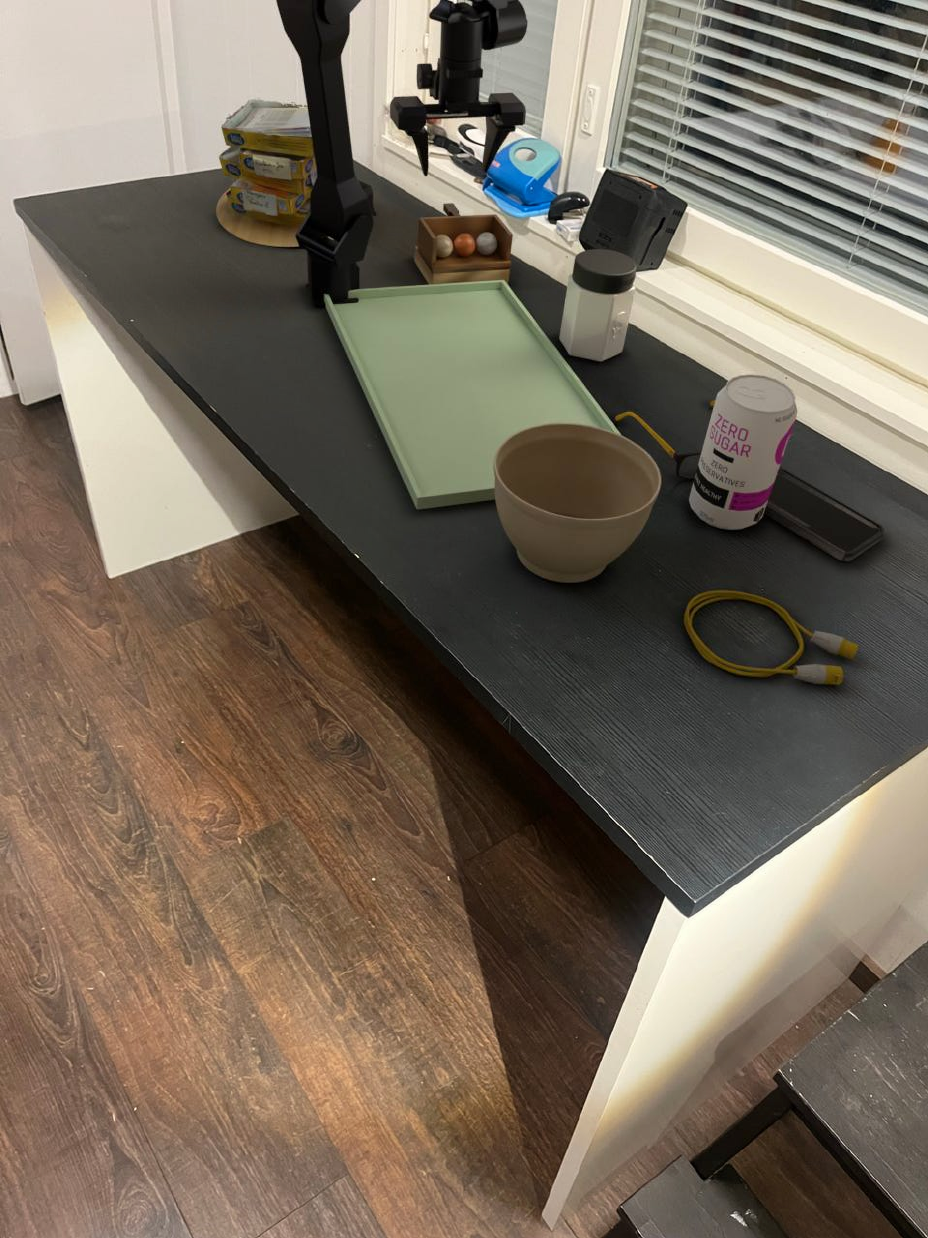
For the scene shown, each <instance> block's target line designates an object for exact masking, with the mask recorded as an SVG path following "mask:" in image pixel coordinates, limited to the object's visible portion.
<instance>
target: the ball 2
mask: <svg viewBox="0 0 928 1238" xmlns="http://www.w3.org/2000/svg"><path fill="white" fill-rule="evenodd" d="M454 249H455V251H456V253H457V254H458V255H460V256H463V257H466V256H469V255H471V254H472V253H473V251H474V249H475V241H474V239H473V238H472V237H471V236H470V235H468V234H460V235H459V236H457V237H456V239H455V241H454Z"/></svg>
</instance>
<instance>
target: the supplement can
mask: <svg viewBox="0 0 928 1238" xmlns="http://www.w3.org/2000/svg"><path fill="white" fill-rule="evenodd" d="M716 394H717V395H716V396H715V399H714V400H715V404H714V406H713V409H712V412H711V416H710V420H709V422H708V427H707V430H706V434H705V438H704V442H703V444H702V449H701V451H700V452H701V455H699V456H700V457H699V460H698V464H697V468H696V472H695V475H694V476H695V478H694V479H693V482H692V485H691V490H690V493H689V497H688V502H689V504H690V505H689V506H690V508H691V509H692V511H693V512H694V513H695V515H696V516H697V517H698V518H699V519H700V520H701V521H703V522H705V523H706V524H707V525H709V526H712V527H715V528H717V529H722V530H730V531H734V530H743V529H746V528H748V527H751V526H753V525H756V524H758V522H759V521H760V520H761V519H763V517H764V510H765V507H766V505H767V502H768V499H769V496H770V493H771V490H772V487H773V484H774V481H775V478H776V475H777V473H778V470H779V467H780V468H781V463H782V462H783V461H782V460H783V458H784V454H785V452H786V449H787V446H788V444H789V441H790V438H791V435H792V432H793V429H794V426H795V423H796V420H797V415H798V407H797V404H796V394H795V393H794V390H793V389H792V388H790V387H789V386H788V385H787V384H786V383H784V382H782V381H780V380H778V379H776V378H773V377H769V376H766V375H761V374H754V373H753V374H752V373H749V374H740V375H737V376H734V377H731V378H730V379H729V380H728V381H727V382H726V384H725V386H724V387H722V389H720V390H719V392H717V393H716Z"/></svg>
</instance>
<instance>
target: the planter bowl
mask: <svg viewBox="0 0 928 1238" xmlns="http://www.w3.org/2000/svg"><path fill="white" fill-rule="evenodd" d="M493 469H494V477H495V500H494V501H495V506H496V510H497V514H498V517H499V520H500V523H501V525H502V528H503V530H504V533H505V534H506V536H507V538H508V539H509V541H510V543H511V544H512V545H513V547H514V548H515V549H516V554H517V557H518V559H519V561H520V562H521V563H522V565H523V566H524V567H525V568H526V569H527V570H529V571H530V572H531V573H533V574H534V575H536V576H538V577H540V578H543V579H546V580H548V581H551V582H557V583H563V584H564V583H566V584H574V583H581V582H582V583H583V582H586V581H590V580H592V579H593V578H595V577H597V576H599V575H600V574H602V573H603V571H604V570H605V569H606V567H607V566H608V565H609V564H610V563H612V562H614V561H615V560H616V559H617V558H619V557H621V555H622V554H623V553H624V552H626V550H628V548H629V547H630V546H631V545H632V544H634V541H635V540H636V539H637V538H638V536H639V535H640V534H641V532H642V531H643V529H644V527H645V526H646V523H647V521H648V519H649V517H650V514H651V513H652V509H653V506H654V504H655V503H656V501H657V499H658V497H659V494H660V490H661V487H662V474H661V471H660V468H659V465H658V464H657V463H656V461H655V460H654V458H653V457H652V456H651V455H650V454H649V452H647V451H646V450H645V449H644V448H643V447H642V446H640V445H638V443H636V442H634V441H632V440H631V439H629V438H628V437H625V436H624V435H622V434H621V435H619V434H617V433H614V432H612V431H609V430H606V429H603V428H599V427H595V426H590V425H584V424H576V423H549V424H541V425H536V426H532V427H529V428H526V429H523V430H521V431H519V432H517V433H515V434H513V435H511V436H510V437H509V438H507V439H506V440H505V441H504V442H503V443H502V444H501V445H500V446H499V448H498V449H497V451H496V453H495V457H494V465H493Z"/></svg>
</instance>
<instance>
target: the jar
mask: <svg viewBox="0 0 928 1238" xmlns="http://www.w3.org/2000/svg"><path fill="white" fill-rule="evenodd" d="M637 267H638V265H637V264H636V261H635V260H634V259H633V258H631V257H630V256H628V255H626V254H624V253H621V252H618V251H616V250H611V249H603V248H599V249H598V248H592V249H587V250H583V251H581V252H579V253H577V254H576V256H575V257H574V262H573V269H572V273H570V274H569V275H568V278H567V279H568V281H567V285H566V292H565V299H564V306H563V311H562V318H561V325H560V331H559V336H558V337H559V338H558V339H559V341H560V343H561V344H562V346H563V347H564V349H565V350H566V352H567V354H568V355H569V356H572V357H577V358H581V359H585V360H586V359H587V360H590V361H595V362H599V363H601V362H604V361H606V360H608V359H611V358H613V357H615V356H617V355H619V354H621V353H622V352H623V350H624V346H625V341H626V336H627V332H628V326H629V322H630V317H631V312H632V308H633V304H634V299H635V298H634V297H635V294H636V286H635V285H634V282H635V279H636V276H637Z"/></svg>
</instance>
